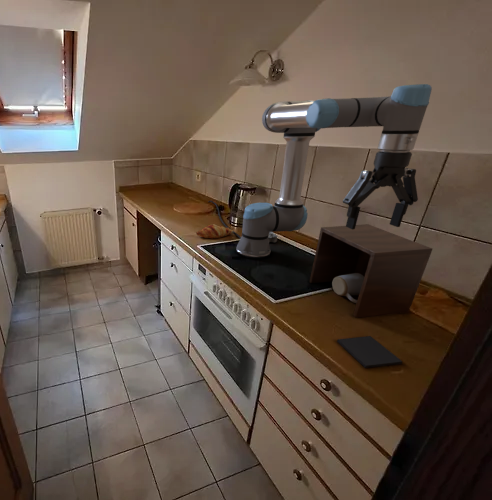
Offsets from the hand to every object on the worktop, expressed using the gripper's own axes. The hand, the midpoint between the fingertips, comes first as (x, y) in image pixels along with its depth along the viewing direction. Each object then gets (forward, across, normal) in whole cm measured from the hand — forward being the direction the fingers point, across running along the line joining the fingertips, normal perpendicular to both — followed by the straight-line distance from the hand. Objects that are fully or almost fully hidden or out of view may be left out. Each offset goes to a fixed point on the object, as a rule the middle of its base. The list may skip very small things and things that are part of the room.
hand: (372, 226), depth 87 cm
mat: (+28, -10, -20) cm, 36 cm away
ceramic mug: (+28, +5, +7) cm, 30 cm away
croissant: (+29, -24, +72) cm, 81 cm away
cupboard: (+28, +6, +7) cm, 30 cm away
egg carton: (+29, +2, +64) cm, 70 cm away
